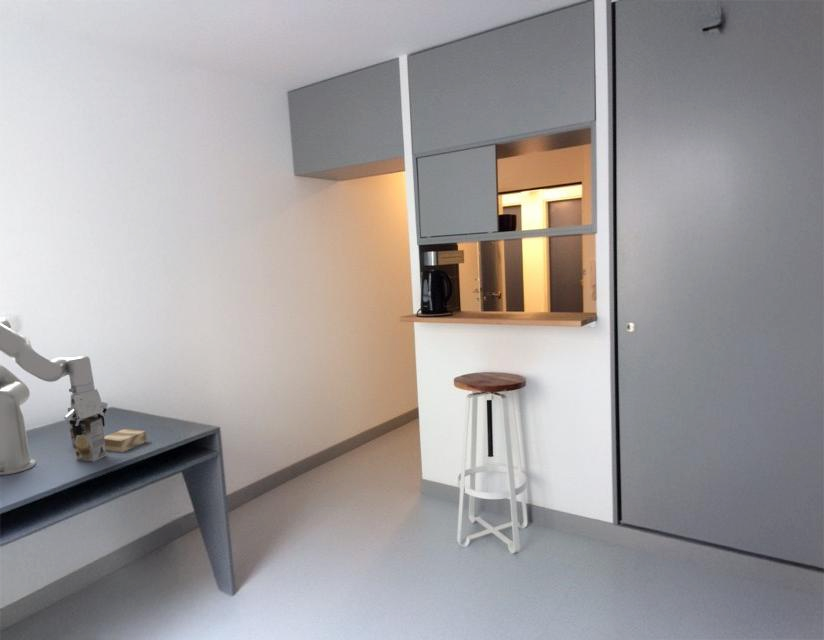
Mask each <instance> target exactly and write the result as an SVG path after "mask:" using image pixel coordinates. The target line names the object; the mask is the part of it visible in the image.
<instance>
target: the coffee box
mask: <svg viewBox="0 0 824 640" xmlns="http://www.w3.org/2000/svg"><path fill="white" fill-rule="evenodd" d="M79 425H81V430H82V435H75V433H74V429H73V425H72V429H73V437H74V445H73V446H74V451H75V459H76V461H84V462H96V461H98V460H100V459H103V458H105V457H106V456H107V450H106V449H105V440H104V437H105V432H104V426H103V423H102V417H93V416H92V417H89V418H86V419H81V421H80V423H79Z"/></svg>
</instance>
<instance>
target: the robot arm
mask: <svg viewBox="0 0 824 640" xmlns="http://www.w3.org/2000/svg"><path fill="white" fill-rule="evenodd" d="M0 352H1V353H3V354H4V355H6V356H8V357H10V358H11V359H12V360H13V361H14V362H15V363H16V364H17V365H18V366H19V367H20V368H21V369H22V370H24V371H25V372H26V373H28V374H30V375H32V376H34V377H36V378H37V379H40V380H41V381H44V382H49V383H50V382H51V383H52V382H56V381H58V380H60V379H61V378H63V377H66V376H68V377H69V383H70V388H69V389H68V391H69V392H70V393H71V394H70V408H71V411H70V412H69V413H68V412H67V414H66V415H65V416H64V420H65V421H66V422H67V423H68V424H69V425H70V424H71V425H73V429H74V433H75V435H82V430H81V425H79V423H80V421H81V419H86V418H89V417H92V416H94V415H97V417H102V423H103V427H105V426H106V422H105V418H104V417H105V416H106V412H107V408H108V405H109V404H108V402H105V401H104V402H103V401H102V399H101V395H100V393H99V390H98V388H96V387H95V382H94V377H93V376H94V375H93V370H92V364H91V359H90V357H89V356H87V355H80V356H79V355H78V356H73V357H54V358H53V359H51V360H50V359H48V358H46V357H44V356H42V355H41V354H39V353H38V352H37V351H36V350H34V348H33V347H32V344H31V341H30V339H29V338H27V337H26V336H24V335H22V334H20V333H18V332H17V331H15V330H13V329H12V325H11V323H10V322H9V321H8V320H7V319H6V318H5V317H1V316H0ZM30 394H31V393H30V388H29V387H28V386H27V385H26V383H24V382H23V381H22V380H21V379H20V378H18V377H17V376H16V375H15V374H14V373H13V372H11V371H10V369H8V368H6V367H5V366H4V365H2V364H0V476H1V475H2V476H5V475H6V476H7V475H13V474H16V473H21V472H24V471H27V470H29V469H31V468H33V467H34V466H35V465H36V464H37V463H36V460H35V459H33V458H30V450H29V443H28V436H27V430H26V423H25V418H24V415H23V412H22V410H21V406H22V405H23V404H25V403H26V402H27V401H28V400H29V397H30ZM71 417H73V418H74V419H73V420H72V419H71Z"/></svg>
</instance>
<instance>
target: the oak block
mask: <svg viewBox="0 0 824 640" xmlns="http://www.w3.org/2000/svg"><path fill="white" fill-rule="evenodd" d="M104 440H105V449H106V451H110V450H111V452H116V453H118V452H119V453H123V451H124V452H126V451H128V449H129V450H131V449H133V448H135V447H134V446H136V447H137V445H138V446H139V444H140V445H142V443H143V444H145V443H147V441H148V440H147V431H146V430H139V429H130V428H129V429H128V428H124V429H120V430H118V431H116V432H112V433H109V434H108V435H104ZM144 442H145V443H144ZM132 447H133V448H132ZM130 448H131V449H130ZM125 450H126V451H125Z"/></svg>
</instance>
